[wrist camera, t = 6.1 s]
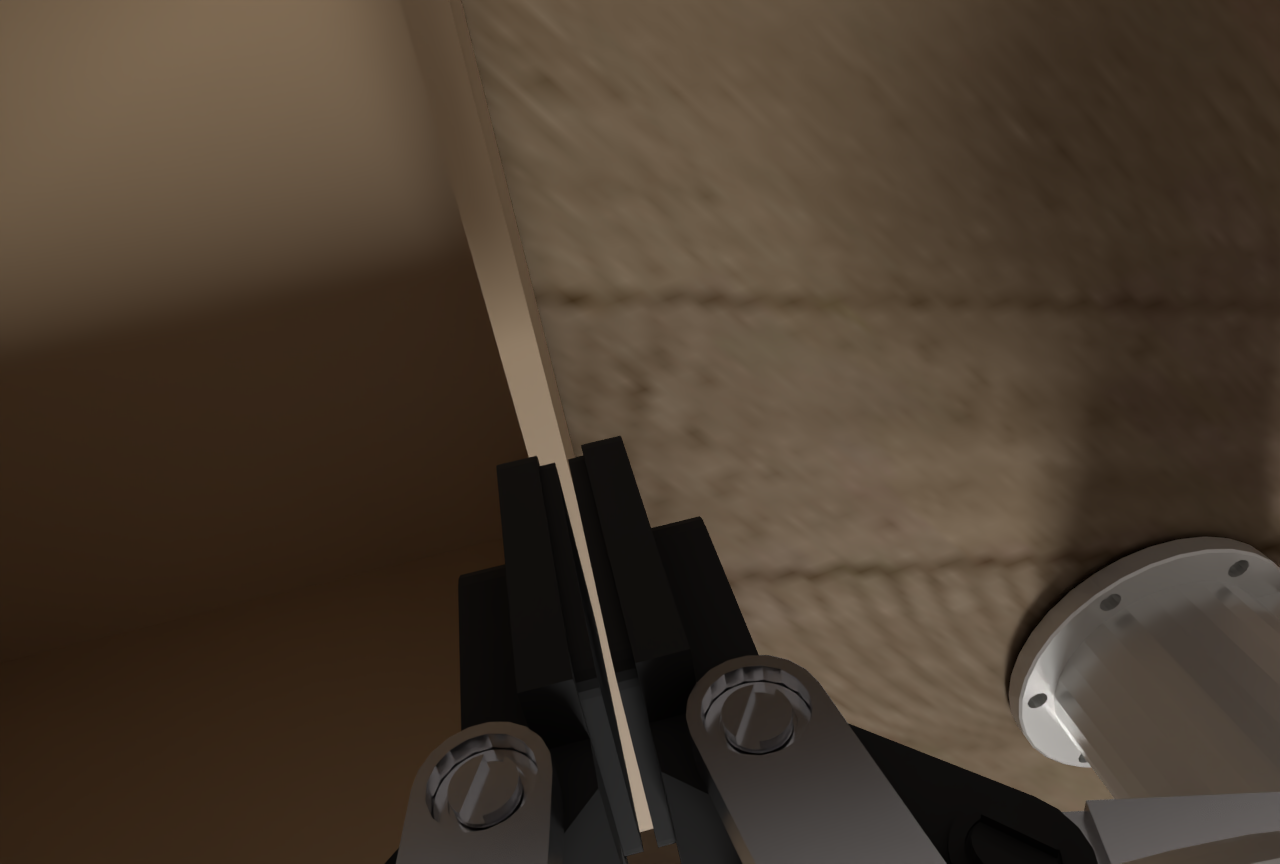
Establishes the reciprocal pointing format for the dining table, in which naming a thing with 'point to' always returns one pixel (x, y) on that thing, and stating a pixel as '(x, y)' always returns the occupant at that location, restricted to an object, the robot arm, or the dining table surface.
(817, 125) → the dining table surface
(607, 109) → the dining table surface
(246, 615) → the carton
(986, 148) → the dining table surface
